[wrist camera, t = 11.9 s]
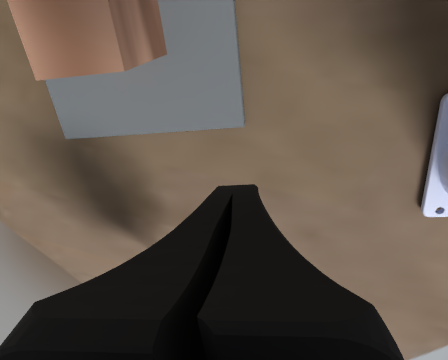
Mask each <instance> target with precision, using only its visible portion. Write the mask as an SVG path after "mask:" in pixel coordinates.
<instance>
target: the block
mask: <svg viewBox="0 0 448 360" xmlns="http://www.w3.org/2000/svg"><path fill="white" fill-rule="evenodd" d="M7 1H8V4H9V7H10V10H11V12H12V15H13V18H14V21H15V23H16V26H17V29H18V32H19V34H20V37H21V40H22V43H23V46H24V48H25V51H26V54H27V57H28V59H29V62H30V65H31V68H32V70H33V73H34V76H35V79H36V80H46V79H56V78H65V77H75V76H85V75H94V74H104V73H113V72H123V71H127V70H129V69H132V68H134V67H137V66H139V65H142V64H144V63H147V62H149V61H152V60H154V59H157V58H159V57H162V56H164V55H167V50H166V44H165V39H164V33H163V27H162V22H161V16H160V11H159V5H158V0H7Z"/></svg>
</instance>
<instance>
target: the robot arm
mask: <svg viewBox="0 0 448 360" xmlns="http://www.w3.org/2000/svg"><path fill="white" fill-rule="evenodd" d="M439 207H442V208H441V209H440V210H438V211H436V209H437V208H439ZM421 212H422V213H423V214H424V215H425V216H426V217H448V93H447V94H446V95H444V96H443V98H442V99H441V102H440V108H439V113H438V118H437V124H436V129H435V135H434V140H433V145H432V151H431V156H430V161H429V167H428V172H427V178H426V183H425V188H424V194H423V199H422V204H421ZM0 360H404V359H403V356H402V354H401V352H400V350H399V348H398V346H397V344H396V342H395V341H394V339H393V337H392V335H391V333H390V332H389V330H388V328H387V326H386V325H385V323H384V321H383V320H382V318H381V317H380V315H379V313H378V312H377V310H376V309H375V307H374V306H373V305H372V304H371V303H369V302H367V301H366V300H364V299H362V298H361V297H359V296H357V295H356V294H354V293H352V292H350V291H349V290H347V289H345V288H344V287H342V286H340V285H339V284H337V283H336V282H334V281H333V280H331V279H330V278H329V277H327V276H326V275H324V274H323V273H322V272H321V271H319V270H318V269H317V268H316V267H315V266H313V265H312V264H311V263H310V262H309V261H307V260H306V259H305V258H304V257H303V256H302V255H301V254H300V253H299V252H298V251H297V250H296V249H295V248H294V247H293V246H292V245H291V244H290V243H289V241H288V240H287V239H286V238H285V237H284V236H283V234H282V233H281V232H280V231H279V229H278V228H277V226H276V225H275V224H274V222H273V221H272V219H271V218H270V216H269V214H268V212H267V211H266V209H265V207H264V205H263V203H262V201H261V199H260V196H259V193H258V187H257V186H256V185H255V184H252V185H231V186H218V187H217V188H216V189H215V190H214V191H213V192H212V193H211V194H210V195H209V196H208V197H207V198H206V199H205V201H204V202H203V203H202V204H201V205H200V206H199V207H198V208H197V209H196V210H195V211H194V212H193V213H192V214H191V215H190V216H188V217H187V218H186V219H185V220H184V221H183V222H182V223H181V224H179V225H178V226H177V227H176V228H175V229H174V230H173V231H171V232H170V233H169V234H168V235H166V236H165V237H164V238H162V239H161V240H159V241H158V242H157V243H155V244H154V245H152V246H151V247H149V248H148V249H146V250H145V251H143V252H141V253H140V254H138V255H136V256H135V257H133V258H131V259H130V260H128V261H126V262H125V263H123V264H121V265H119V266H118V267H116V268H114V269H112V270H110V271H108V272H106V273H104V274H102V275H100V276H98V277H95V278H93V279H91V280H89V281H87V282H85V283H82V284H80V285H78V286H75V287H73V288H70V289H68V290H65V291H63V292H60V293H58V294H55V295H53V296H50V297H47V298H45V299H42V300H39V301H37V302H35V303H34V304H33V305H32V306H31V308H30V309H29V310H28V311H27V313H26V314H25V315H24V316H23V318H22V319H21V320H20V322H19V323H18V324H17V325H16V327H15V328H14V329H13V331H12V332H11V333H10V334H9V336H8V337H7V338H6V339H5V340H4V342H3V343H2V344H1V346H0Z"/></svg>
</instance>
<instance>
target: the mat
mask: <svg viewBox="0 0 448 360" xmlns="http://www.w3.org/2000/svg"><path fill="white" fill-rule="evenodd" d="M158 5H159V11H160V16H161V22H162V27H163V33H164V39H165V44H166V50H167V55H164V56H162V57H159V58H157V59H154V60H152V61H149V62H147V63H144V64H142V65H139V66H137V67H134V68H132V69H129V70H127V71H123V72H113V73H104V74H94V75H85V76H75V77H65V78H56V79H46V80H45V82H46V84H47V87H48V90H49V93H50V96H51V99H52V102H53V104H54V107H55V110H56V113H57V116H58V119H59V122H60V124H61V127H62V130H63V133H64V136H65V139H77V138H92V137H106V136H120V135H135V134H149V133H164V132H178V131H193V130H207V129H222V128H236V127H244V126H245V114H244V102H243V91H242V79H241V67H240V56H239V44H238V33H237V21H236V9H235V0H158Z"/></svg>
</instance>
